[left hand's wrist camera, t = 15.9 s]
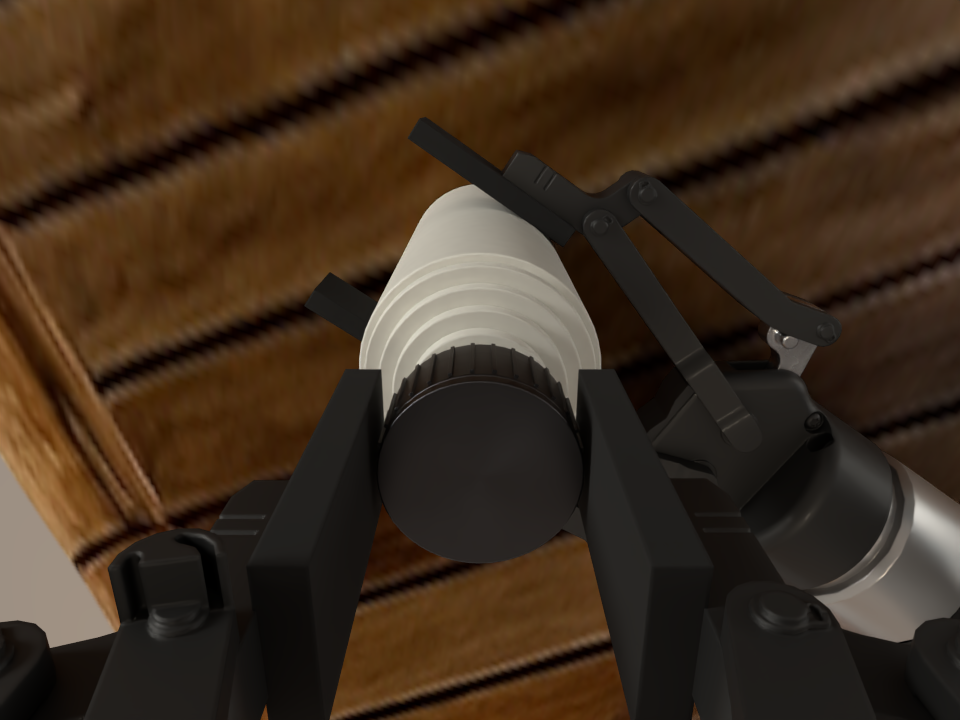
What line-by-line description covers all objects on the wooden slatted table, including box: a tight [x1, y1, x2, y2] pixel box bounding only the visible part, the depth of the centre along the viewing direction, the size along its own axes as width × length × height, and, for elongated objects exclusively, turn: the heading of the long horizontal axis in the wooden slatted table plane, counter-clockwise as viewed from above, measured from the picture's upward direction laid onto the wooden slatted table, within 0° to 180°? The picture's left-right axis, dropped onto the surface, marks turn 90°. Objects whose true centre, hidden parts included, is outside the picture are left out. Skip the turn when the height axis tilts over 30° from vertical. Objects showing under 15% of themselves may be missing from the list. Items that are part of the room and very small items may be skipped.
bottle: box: [359, 185, 601, 421], centre depth 23 cm, size 6×6×20 cm
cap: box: [376, 343, 584, 563], centre depth 14 cm, size 4×4×2 cm
